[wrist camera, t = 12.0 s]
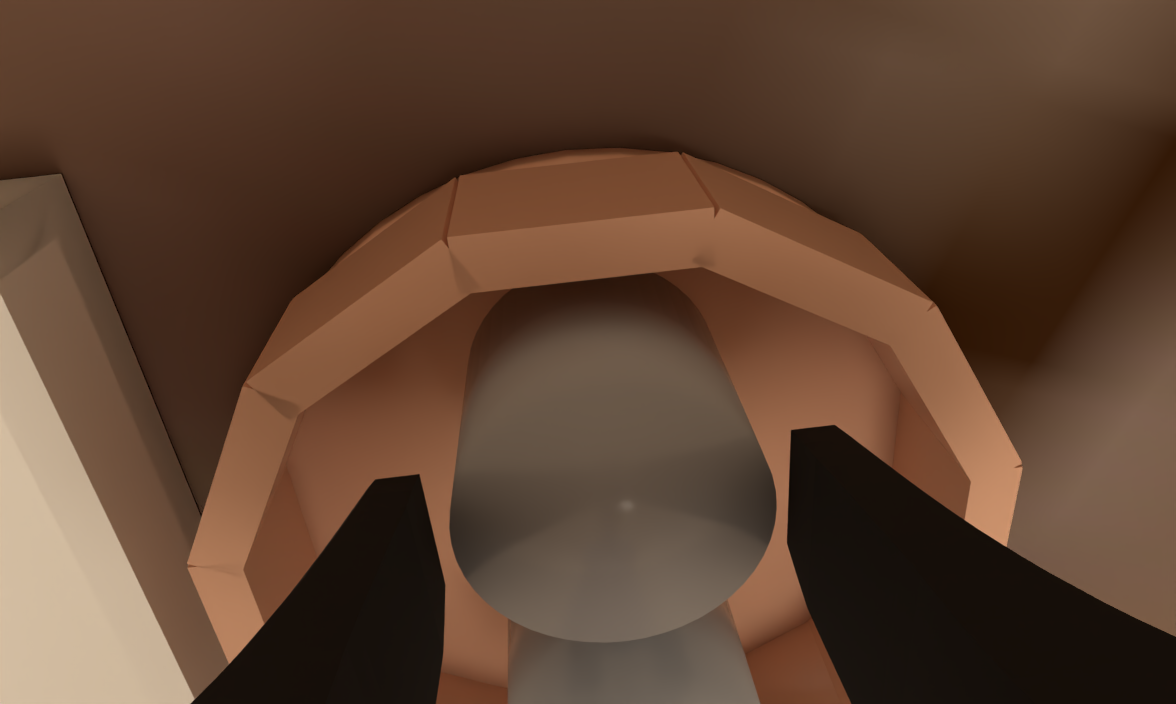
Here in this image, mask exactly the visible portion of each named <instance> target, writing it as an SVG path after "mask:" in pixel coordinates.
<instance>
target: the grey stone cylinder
mask: <svg viewBox="0 0 1176 704" xmlns="http://www.w3.org/2000/svg"><path fill="white" fill-rule="evenodd" d="M508 704H760V701H759V698H758V694H757V691H756V688H755V685H754V682H753V679H752V675H751V672H750V669H749V666H748V663H747V660H746V656H745V653H744V650H743V647H742V644H741V641H740V637H739V634H738V631H737V628H736V625H735V622H734V618H733V615H732V612H731V609H730V606H729V603H728V599H727V600H726V601H724V602H723V603H722V604H720V605H719V606H718V607H716V608H715V609H714V610H712V611H710V612H709V613H707V614H705V615H704V616H702V617H700V618H699V619H697V620H694V621H692V622H690V623H688V624H686V625H684V626H682V627H679V628H676V629H674V630H671V631H668V632H665V633H662V634H658V635H655V636H651V637H647V638H642V639H636V640H630V641H622V642H607V643H602V642H581V641H573V640H566V639H561V638H557V637H552V636H548V635H545V634H542V633H539V632H536V631H533V630H530V629H528V628H526V627H524V626H522V625H519V624H517V623H515V622H513V621H512V620H510V619H508Z"/></svg>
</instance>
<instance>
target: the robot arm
mask: <svg viewBox="0 0 1176 704" xmlns="http://www.w3.org/2000/svg"><path fill="white" fill-rule="evenodd" d="M787 545H788V549H789V552H790V555H791V559H792V562H793V565H794V568H795V572H796V575H797V578H798V581H799V584H800V587H801V590H802V593H803V596H804V599H805V602H806V605H807V608H808V611H809V613H810V615H811V617H812V620H813V622H814V624H815V626H816V628H817V631H818V633H819V635H820V637H821V639H822V642H823V644H824V646H825V648H826V650H827V652H828V655H829V657H830V659H831V661H832V663H833V665H834V668H835V670H836V672H837V674H838V676H839V678H840V681H841V683H842V685H843V687H844V689H845V691H846V693H847V696H848V698H849V700H850V702H851V704H1176V637H1175V636H1173V635H1171V634H1168V633H1166V632H1164V631H1162V630H1160V629H1158V628H1155V627H1153V626H1151V625H1149V624H1147V623H1145V622H1142V621H1140V620H1138V619H1136V618H1134V617H1132V616H1130V615H1128V614H1126V613H1124V612H1122V611H1120V610H1118V609H1116V608H1114V607H1112V606H1110V605H1108V604H1106V603H1104V602H1102V601H1100V600H1098V599H1097V598H1095V597H1093V596H1091V595H1089V594H1087V593H1086V592H1084V591H1082V590H1080V589H1078V588H1076V587H1074V586H1073V585H1071V584H1069V583H1067V582H1065V581H1063V580H1062V579H1060V578H1058V577H1056V576H1054V575H1052V574H1051V573H1049V572H1047V571H1045V570H1044V569H1042V568H1040V567H1038V566H1037V565H1035V564H1033V563H1032V562H1030V561H1028V560H1026V559H1025V558H1023V557H1021V556H1020V555H1018V554H1017V553H1015V552H1013V551H1012V550H1010V549H1009V548H1007V547H1006V546H1004V545H1002V544H1001V543H999V542H998V541H996V540H995V539H993V538H991V537H990V536H988V535H987V534H985V533H983V532H982V531H980V530H979V529H977V528H976V527H974V526H973V525H971V524H970V523H968V522H967V521H965V520H964V519H962V518H961V517H959V516H958V515H956V514H955V513H953V512H952V511H951V510H949V509H948V508H946V507H945V506H943V505H942V504H941V503H939V502H938V501H936V500H935V499H934V498H932V497H931V496H929V495H928V494H927V493H925V492H924V491H922V490H921V489H920V488H918V487H917V486H916V485H914V484H913V483H911V482H910V481H909V480H907V479H906V478H905V477H903V476H902V475H901V474H899V473H898V472H897V471H895V470H894V469H893V468H891V467H890V466H889V465H887V464H886V463H885V462H883V461H882V460H881V459H880V458H878V457H877V456H876V455H874V454H873V453H872V452H870V451H869V450H868V449H866V448H865V447H864V446H863V445H861V444H860V443H859V442H857V441H856V440H855V439H853V438H852V437H851V436H849V435H848V434H847V433H845V432H844V431H843V430H841V429H840V428H838V427H837V426H836V425H828V426H820V427H811V428H803V429H794V430H791V441H790V468H789V496H788V524H787ZM445 586H446V585H445V580H444V576H443V572H442V568H441V563H440V559H439V555H438V551H437V546H436V542H435V538H434V534H433V529H432V525H431V521H430V517H429V512H428V508H427V504H426V500H425V495H424V491H423V487H422V483H421V478H420V474H415V475H407V476H399V477H390V478H382V479H375V480H374V481H373V482H372V484H371V485H370V486H369V487H368V489H367V490H366V491H365V493H364V494H363V495H362V497H361V498H360V500H359V501H358V502H357V504H356V505H355V507H354V508H353V509H352V511H351V512H350V514H349V515H348V516H347V518H346V519H345V521H344V522H343V523H342V525H341V526H340V528H339V529H338V530H337V532H336V533H335V535H334V536H333V537H332V539H331V540H330V541H329V543H328V544H327V546H326V547H325V548H324V550H323V551H322V552H321V554H320V555H319V556H318V558H317V559H316V560H315V561H314V563H313V564H312V565H311V567H310V568H309V569H308V571H307V572H306V573H305V575H304V576H303V577H302V578H301V580H300V581H299V582H298V584H297V585H296V586H295V588H294V589H293V590H292V591H291V593H290V594H289V595H288V596H287V598H286V599H285V600H284V601H283V603H282V604H281V605H280V606H279V607H278V608H277V610H276V611H275V612H274V613H273V614H272V615H271V617H270V618H269V619H268V620H267V621H266V623H265V624H264V625H263V626H262V627H261V628H260V630H259V631H258V632H257V633H256V634H255V636H254V637H253V638H252V639H251V640H250V641H249V643H248V644H247V645H246V646H245V647H244V648H243V649H242V651H241V652H240V653H239V654H238V655H237V656H236V657H235V658H234V659H233V660H232V662H231V663H230V664H229V665H228V666H227V667H226V668H225V669H224V670H223V671H222V672H221V673H220V674H219V675H218V677H217V678H216V679H215V680H214V681H213V682H212V683H211V684H210V685H209V686H208V687H207V688H206V689H205V690H204V691H203V692H202V693H201V694H200V695H199V696H198V697H197V698H196V699H195V700H194V701H193V702H192V703H191V704H436V700H437V693H438V687H439V680H440V673H441V667H442V660H443V650H444V626H445Z"/></svg>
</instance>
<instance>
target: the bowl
mask: <svg viewBox="0 0 1176 704" xmlns="http://www.w3.org/2000/svg"><path fill="white" fill-rule="evenodd" d="M645 273H655V274H657V275H659V276H661V277H663V278H665V279H666V280H668V281H669V282H671V283H672V284H673V285H675V286H676V287H678V288H679V289H680V290H681V291H682V292H683V293H684V294H685V295H687V296H688V297H689V299H690V300H691V301H692V302H693V303H694V305H695V306H696V307H697V308H698V310H699V311H700V313H701V314H702V316H703V318H704V319H705V321H706V323H707V325H708V328H709V330H710V332H711V335H712V337H713V339H714V342H715V344H716V346H717V348H718V351H719V353H720V355H721V358H722V360H723V362H724V364H725V367H726V369H727V371H728V374H729V376H730V378H731V380H732V383H733V385H734V387H735V390H736V392H737V394H738V396H739V399H740V401H741V403H742V406H743V408H744V410H745V413H746V415H747V417H748V419H749V422H750V424H751V426H752V429H753V431H754V433H755V435H756V438H757V440H758V442H759V445H760V447H761V449H762V451H763V454H764V456H765V458H766V461H767V463H768V466H769V468H770V470H771V473H772V476H773V480H774V485H775V489H776V501H777V511H776V520H775V526H774V530H773V533H772V537H771V540H770V543H769V545H768V547H767V550H766V552H765V554H764V556H763V558H762V559H761V561H760V563H759V564H758V566H757V567H756V569H755V571H754V572H753V573H752V574H751V576H750V577H749V578H748V579H747V580H746V582H745V583H744V584H743V585H742V586H741V587H740V588H739V589H738V590H737V591H736V592H735V593H734V594H733V595H732V596H731V597H730V598H728V603H729V606H730V609H731V612H732V615H733V618H734V622H735V625H736V628H737V631H738V634H739V637H740V641H741V644H742V647H743V650H744V653H745V656H746V660H747V663H748V666H749V669H750V672H751V675H752V679H753V682H754V685H755V688H756V691H757V694H758V698H759V701H760V704H851V702H850V700H849V698H848V696H847V693H846V691H845V689H844V687H843V685H842V683H841V681H840V678H839V676H838V674H837V672H836V670H835V668H834V665H833V663H832V661H831V659H830V657H829V655H828V652H827V650H826V648H825V646H824V644H823V642H822V639H821V637H820V635H819V633H818V631H817V628H816V626H815V624H814V622H813V620H812V617H811V615H810V613H809V611H808V608H807V605H806V602H805V599H804V596H803V593H802V590H801V587H800V584H799V581H798V578H797V575H796V572H795V568H794V565H793V562H792V559H791V555H790V552H789V549H788V545H787V524H788V496H789V468H790V441H791V430H794V429H803V428H811V427H820V426H828V425H836V426H837V427H838V428H840V429H841V430H843V431H844V432H845V433H847V434H848V435H849V436H851V437H852V438H853V439H855V440H856V441H857V442H859V443H860V444H861V445H863V446H864V447H865V448H866V449H868V450H869V451H870V452H872V453H873V454H874V455H876V456H877V457H878V458H880V459H881V460H882V461H883V462H885V463H886V464H887V465H889V466H890V467H891V468H893V469H894V470H895V471H897V472H898V473H899V474H901V475H902V476H903V477H905V478H906V479H907V480H909V481H910V482H911V483H913V484H914V485H916V486H917V487H918V488H920V489H921V490H922V491H924V492H925V493H927V494H928V495H929V496H931V497H932V498H934V499H935V500H936V501H938V502H939V503H941V504H942V505H943V506H945V507H946V508H948V509H949V510H951V511H952V512H953V513H955V514H956V515H958V516H959V517H961V518H962V519H964V520H965V521H967V522H968V523H970V524H971V525H973V526H974V527H976V528H977V529H979V530H980V531H982V532H983V533H985V534H987V535H988V536H990V537H991V538H993V539H995V540H996V541H998V542H999V543H1001V544H1002V545H1004V546H1007V541H1008V536H1009V531H1010V527H1011V522H1012V517H1013V512H1014V507H1015V502H1016V498H1017V493H1018V488H1019V483H1020V478H1021V473H1022V468H1023V467H1022V466H1021V464H1022V462H1021V460H1020V458H1019V456H1018V454H1017V452H1016V451H1015V449H1014V447H1013V445H1012V443H1011V441H1010V440H1009V438H1008V436H1007V434H1006V432H1005V430H1004V428H1003V427H1002V425H1001V423H1000V421H999V419H998V417H997V416H996V414H995V412H994V410H993V408H992V406H991V404H990V403H989V401H988V399H987V397H986V395H985V393H984V392H983V390H982V388H981V386H980V384H979V382H978V381H977V379H976V377H975V375H974V373H973V371H972V369H971V368H970V366H969V364H968V362H967V360H966V358H965V357H964V355H963V353H962V351H961V349H960V347H959V345H958V344H957V342H956V340H955V338H954V336H953V334H952V333H951V331H950V329H949V327H948V325H947V323H946V322H945V320H944V318H943V316H942V314H941V312H940V310H939V309H938V307H937V305H936V304H935V303H934V302H932V301H931V300H930V299H929V298H928V297H927V296H926V295H925V294H924V293H923V292H922V291H921V290H920V289H919V288H918V287H917V286H916V285H915V284H914V283H913V282H911V281H910V280H909V279H908V278H907V277H906V276H905V275H904V274H903V273H902V272H901V271H900V270H899V269H898V268H897V267H896V266H895V265H894V264H893V263H892V262H890V261H889V260H888V259H887V258H886V257H885V256H884V255H883V254H882V253H881V252H880V251H879V250H878V249H877V248H876V247H875V246H874V245H873V244H872V243H871V242H869V241H868V240H867V239H866V238H865V237H864V236H863V235H862V234H861V233H858V232H856V231H854V230H852V229H850V228H847V227H845V226H843V225H841V224H839V223H837V222H834V221H832V220H830V219H828V218H826V217H823V216H821V215H819V214H817V213H816V212H815V211H813V210H812V209H811V208H809V207H808V206H807V205H805V204H804V203H803V202H801V201H799V200H798V199H796V198H794V197H792V196H790V195H789V194H787V193H785V192H783V191H781V190H780V189H778V188H776V187H774V186H772V185H770V184H769V183H767V182H765V181H763V180H761V179H758V178H756V177H753V176H750V175H748V174H745V173H743V172H740V171H737V170H735V169H732V168H729V167H727V166H724V165H721V164H719V163H715V162H711V161H706V160H702V159H697V158H694V157H692V156H690V155H688V154H686V153H682V155H680V154H679V153H678V151H677V152H662V151H651V150H640V149H628V148H598V149H575V150H563V151H557V152H552V153H546V154H540V155H535V156H529V157H523V158H518V159H513V160H510V161H507V162H504V163H501V164H497V165H494V166H491V167H488V168H485V169H482V170H478V171H475V172H472V173H469V174H466V175H460V177H459V178H457V179H456V178H453V179H452V180H451V181H449V182H448V183H447V184H444V185H442V186H440V187H438V188H436V189H434V190H432V191H430V192H427V193H425V194H423V195H421V196H419V197H418V198H416V199H415V200H413V201H412V202H410V203H408V204H407V205H405V206H404V207H402V208H401V209H399V210H398V211H396V212H395V213H393V214H391V215H390V216H388V217H387V218H385V219H384V220H382V221H381V222H379V223H378V224H377V225H376V226H374V227H373V228H372V229H371V230H370V231H369V232H368V233H366V234H365V235H364V236H363V237H362V238H361V239H359V240H358V241H357V242H356V243H355V244H354V245H353V246H351V247H350V248H349V249H348V250H347V251H346V252H345V253H343V255H342V256H341V257H340V258H339V259H338V260H337V262H336V263H335V264H334V265H333V266H332V267H331V269H330V270H329V271H328V272H327V273H326V274H325V275H323V276H322V277H321V278H319V279H318V280H317V281H315V282H314V283H313V284H311V285H310V286H309V287H307V288H306V289H305V290H303V291H302V292H301V293H299V294H298V295H297V296H295V297H294V298H293V299H292V301H291V302H290V304H289V305H288V307H287V309H286V311H285V312H284V314H283V316H282V318H281V319H280V321H279V323H278V325H277V326H276V328H275V330H274V332H273V333H272V335H271V337H270V339H269V340H268V342H267V344H266V346H265V347H264V349H263V351H262V353H261V354H260V356H259V358H258V360H257V361H256V363H255V365H254V367H253V369H252V370H251V372H250V374H249V376H248V377H247V379H246V381H245V383H244V384H243V386H242V389H241V393H240V396H239V399H238V402H237V405H236V408H235V412H234V415H233V418H232V421H231V424H230V428H229V431H228V434H227V437H226V440H225V444H224V447H223V450H222V453H221V456H220V460H219V463H218V466H217V469H216V472H215V476H214V479H213V482H212V485H211V488H210V492H209V495H208V498H207V501H206V504H205V508H204V511H203V514H202V517H201V520H200V524H199V527H198V530H197V533H196V536H195V540H194V543H193V546H192V549H191V552H190V556H189V559H188V562H187V564H189V565H188V567H187V568H188V571H189V573H190V575H191V578H192V580H193V582H194V584H195V587H196V589H197V591H198V594H199V596H200V598H201V601H202V603H203V605H204V607H205V610H206V612H207V614H208V617H209V619H210V621H211V624H212V626H213V628H214V630H215V633H216V635H217V637H218V640H219V642H220V644H221V646H222V649H223V651H224V653H225V656H226V658H227V660H228V663H229V664H230V663H231V662H232V660H233V659H234V658H235V657H236V656H237V655H238V654H239V653H240V652H241V651H242V649H243V648H244V647H245V646H246V645H247V644H248V643H249V641H250V640H251V639H252V638H253V637H254V636H255V634H256V633H257V632H258V631H259V630H260V628H261V627H262V626H263V625H264V624H265V623H266V621H267V620H268V619H269V618H270V617H271V615H272V614H273V613H274V612H275V611H276V610H277V608H278V607H279V606H280V605H281V604H282V603H283V601H284V600H285V599H286V598H287V596H288V595H289V594H290V593H291V591H292V590H293V589H294V588H295V586H296V585H297V584H298V582H299V581H300V580H301V578H302V577H303V576H304V575H305V573H306V572H307V571H308V569H309V568H310V567H311V565H312V564H313V563H314V561H315V560H316V559H317V558H318V556H319V555H320V554H321V552H322V551H323V550H324V548H325V547H326V546H327V544H328V543H329V541H330V540H331V539H332V537H333V536H334V535H335V533H336V532H337V530H338V529H339V528H340V526H341V525H342V523H343V522H344V521H345V519H346V518H347V516H348V515H349V514H350V512H351V511H352V509H353V508H354V507H355V505H356V504H357V502H358V501H359V500H360V498H361V497H362V495H363V494H364V493H365V491H366V490H367V489H368V487H369V486H370V485H371V484H372V482H373V481H374V480H375V479H382V478H390V477H399V476H407V475H415V474H420V478H421V483H422V487H423V491H424V495H425V500H426V504H427V508H428V512H429V517H430V521H431V525H432V529H433V534H434V538H435V542H436V546H437V551H438V555H439V559H440V563H441V568H442V572H443V576H444V580H445V585H446V586H445V626H444V650H443V660H442V667H441V673H440V680H439V687H438V693H437V700H436V704H508V618H507V617H505V616H504V615H502V614H500V613H499V612H498V611H496V610H495V609H494V608H492V607H491V606H490V605H489V604H487V603H486V602H485V601H484V600H483V599H482V598H481V597H480V596H479V595H478V594H477V593H476V591H475V590H474V589H473V588H472V587H471V585H470V584H469V582H468V581H467V579H466V578H465V577H464V575H463V573H462V571H461V569H460V567H459V565H458V563H457V561H456V558H455V555H454V552H453V548H452V545H451V538H450V530H449V521H450V506H451V498H452V489H453V481H454V473H455V465H456V457H457V448H458V440H459V432H460V424H461V415H462V407H463V399H464V391H465V383H466V374H467V366H468V359H469V354H470V349H471V346H472V343H473V340H474V337H475V335H476V332H477V330H478V329H479V327H480V325H481V323H482V321H483V319H484V318H485V317H486V315H487V314H488V313H489V311H490V310H491V308H492V307H493V306H494V305H495V304H496V303H497V302H498V301H499V300H500V299H501V298H502V297H503V296H504V295H505V294H506V293H507V292H509V291H510V290H511V289H513V288H522V287H530V286H539V285H548V284H557V283H566V282H574V281H583V280H592V279H601V278H610V277H618V276H627V275H636V274H645Z"/></svg>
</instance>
